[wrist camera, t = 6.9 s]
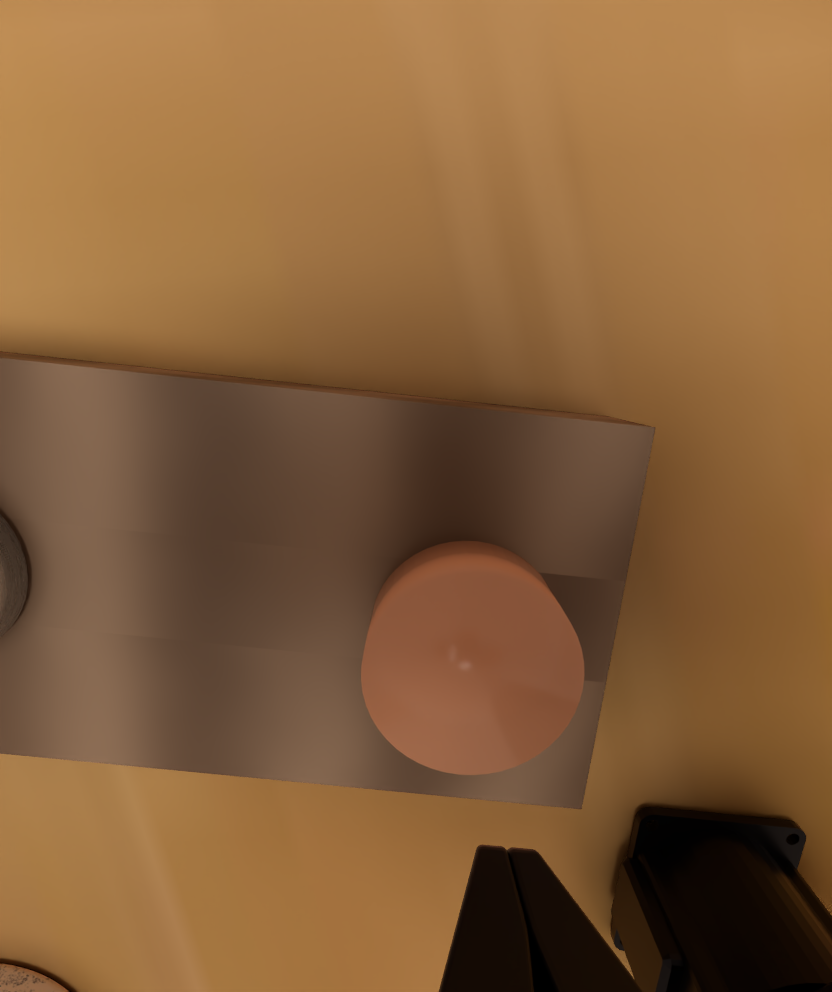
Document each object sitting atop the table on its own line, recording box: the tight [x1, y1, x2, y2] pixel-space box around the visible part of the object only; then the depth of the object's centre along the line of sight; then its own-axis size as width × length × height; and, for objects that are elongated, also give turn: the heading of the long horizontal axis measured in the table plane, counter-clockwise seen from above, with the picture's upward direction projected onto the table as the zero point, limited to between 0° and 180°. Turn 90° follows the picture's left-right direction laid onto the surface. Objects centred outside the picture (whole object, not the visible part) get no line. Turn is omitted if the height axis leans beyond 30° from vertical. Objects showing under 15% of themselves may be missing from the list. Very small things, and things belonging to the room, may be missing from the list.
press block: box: [0, 352, 655, 809], centre depth 18 cm, size 24×12×4 cm, turn 84°
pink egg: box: [361, 541, 584, 775], centre depth 16 cm, size 5×5×6 cm
